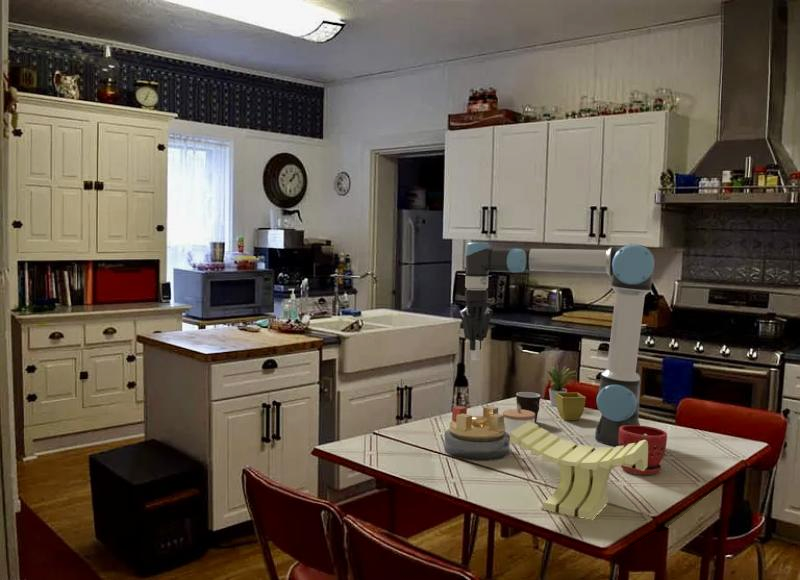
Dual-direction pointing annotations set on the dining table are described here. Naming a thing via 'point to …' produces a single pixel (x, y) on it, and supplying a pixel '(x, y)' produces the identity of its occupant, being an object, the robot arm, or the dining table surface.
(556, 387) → the house plant
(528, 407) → the coffee mug
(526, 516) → the dining table surface
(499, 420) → the ring nut
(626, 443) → the plant pot
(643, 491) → the dining table surface
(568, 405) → the flower pot
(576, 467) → the slatted curved stool
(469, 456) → the base
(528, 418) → the lidded jar
